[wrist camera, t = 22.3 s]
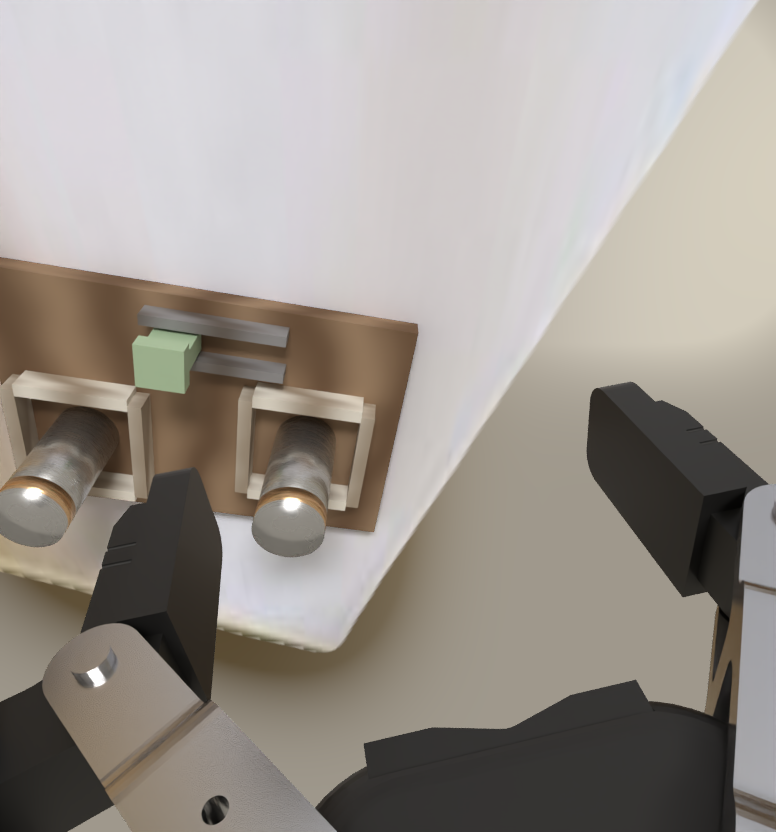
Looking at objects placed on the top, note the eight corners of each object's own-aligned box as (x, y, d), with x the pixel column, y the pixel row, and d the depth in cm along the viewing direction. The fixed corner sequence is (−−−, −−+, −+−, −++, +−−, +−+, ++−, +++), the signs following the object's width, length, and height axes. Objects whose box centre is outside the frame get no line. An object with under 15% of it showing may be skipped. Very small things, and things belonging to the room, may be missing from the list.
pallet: (32, 475, 53) (11, 503, 50) (-14, 255, 42) (-44, 274, 39) (374, 520, 56) (373, 548, 53) (417, 324, 45) (419, 347, 42)
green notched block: (157, 351, 44) (135, 386, 40) (155, 311, 42) (132, 344, 39) (202, 358, 45) (184, 393, 41) (202, 319, 43) (183, 351, 39)
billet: (273, 459, 50) (249, 552, 42) (277, 411, 47) (252, 501, 39) (332, 467, 50) (320, 561, 42) (339, 420, 48) (328, 511, 40)
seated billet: (60, 451, 50) (-6, 542, 42) (52, 402, 47) (-20, 489, 39) (121, 459, 50) (68, 551, 42) (117, 411, 47) (59, 499, 39)
